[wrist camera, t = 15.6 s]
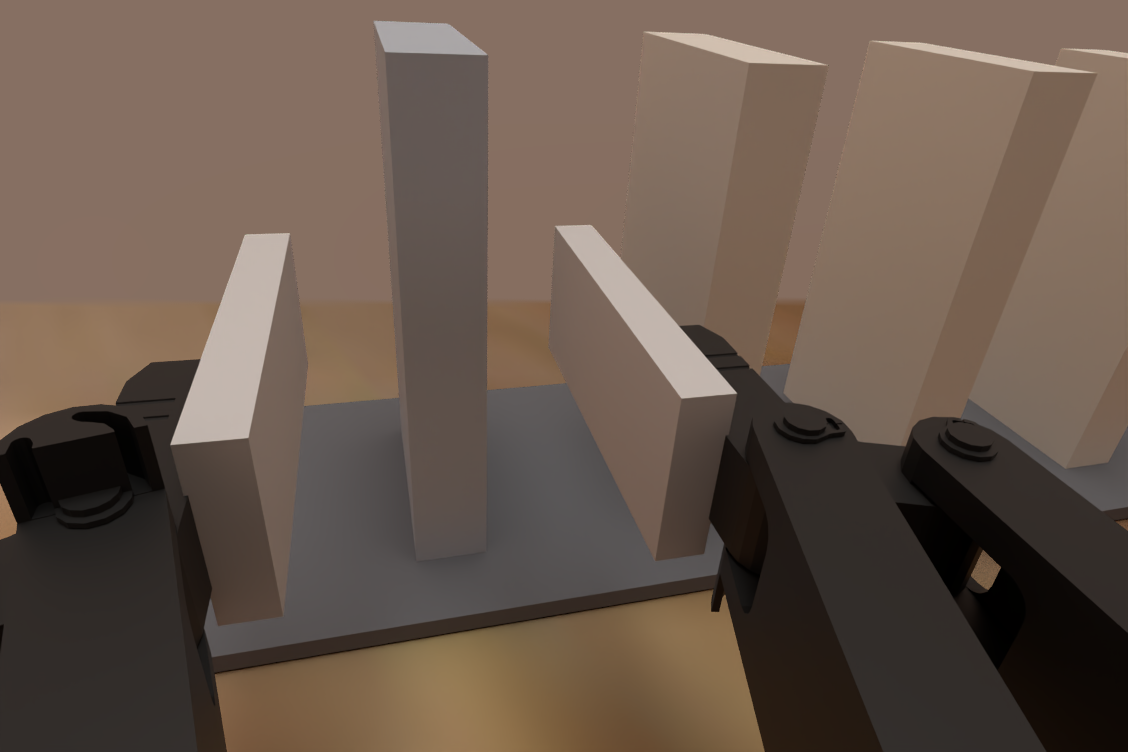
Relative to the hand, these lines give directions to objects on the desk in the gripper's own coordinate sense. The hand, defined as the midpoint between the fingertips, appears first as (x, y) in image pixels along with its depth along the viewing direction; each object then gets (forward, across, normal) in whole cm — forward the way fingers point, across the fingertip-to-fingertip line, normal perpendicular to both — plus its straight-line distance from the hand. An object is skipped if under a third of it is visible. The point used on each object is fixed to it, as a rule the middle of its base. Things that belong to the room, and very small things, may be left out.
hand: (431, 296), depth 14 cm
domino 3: (+4, +21, -8) cm, 23 cm away
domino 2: (+4, +14, -8) cm, 17 cm away
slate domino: (+4, 0, -8) cm, 8 cm away
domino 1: (+4, +7, -8) cm, 11 cm away
